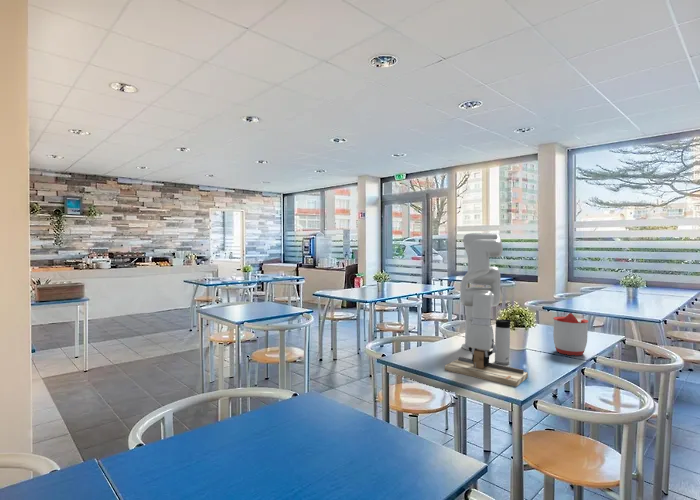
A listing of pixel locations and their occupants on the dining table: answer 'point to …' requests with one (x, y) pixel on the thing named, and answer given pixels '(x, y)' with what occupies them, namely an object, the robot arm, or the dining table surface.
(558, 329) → the citrus juicer
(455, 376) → the dining table surface
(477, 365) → the brown block
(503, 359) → the travel mug
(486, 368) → the board
